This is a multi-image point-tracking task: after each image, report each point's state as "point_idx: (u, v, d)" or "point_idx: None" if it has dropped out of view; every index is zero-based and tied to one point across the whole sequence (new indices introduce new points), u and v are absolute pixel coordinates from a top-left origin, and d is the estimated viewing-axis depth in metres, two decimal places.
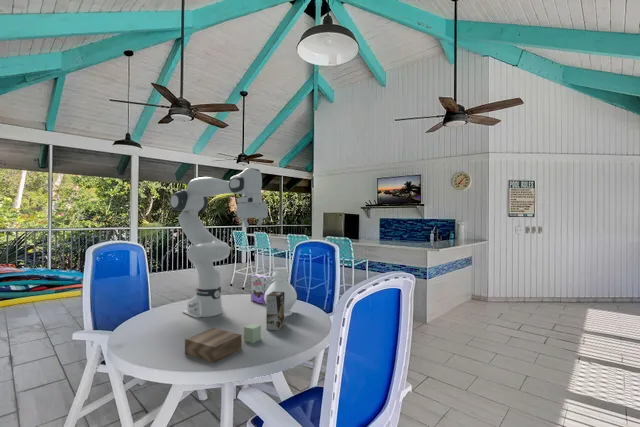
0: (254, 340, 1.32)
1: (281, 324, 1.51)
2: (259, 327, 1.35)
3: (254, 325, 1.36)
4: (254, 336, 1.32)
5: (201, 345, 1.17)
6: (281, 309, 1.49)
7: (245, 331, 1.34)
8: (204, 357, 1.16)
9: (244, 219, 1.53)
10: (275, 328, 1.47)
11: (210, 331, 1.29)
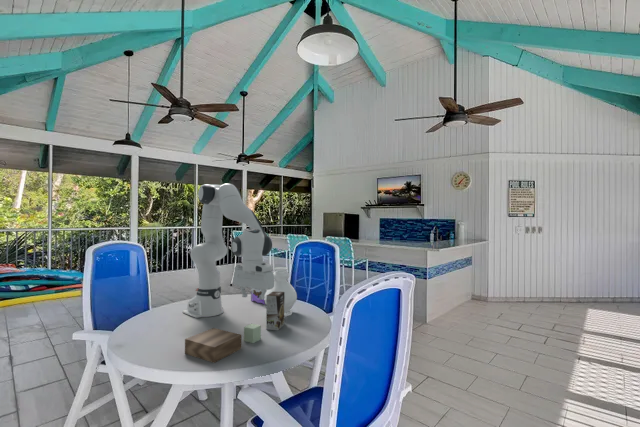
0: (254, 340, 1.32)
1: (281, 323, 1.51)
2: (259, 327, 1.35)
3: (254, 325, 1.36)
4: (254, 336, 1.32)
5: (201, 345, 1.17)
6: (281, 309, 1.49)
7: (245, 331, 1.34)
8: (204, 357, 1.16)
9: (265, 290, 1.32)
10: (275, 328, 1.47)
11: (211, 331, 1.29)
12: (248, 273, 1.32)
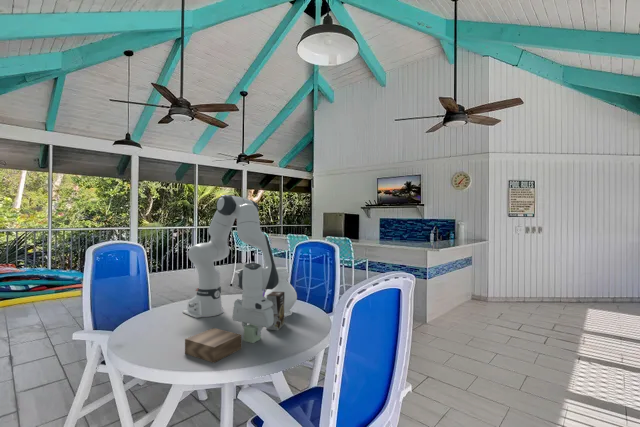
0: (254, 340, 1.32)
1: (281, 323, 1.51)
2: None
3: None
4: (254, 336, 1.32)
5: (201, 345, 1.17)
6: (281, 309, 1.49)
7: (245, 331, 1.34)
8: (203, 357, 1.16)
9: (262, 326, 1.33)
10: (275, 328, 1.47)
11: (211, 331, 1.29)
12: (248, 309, 1.32)
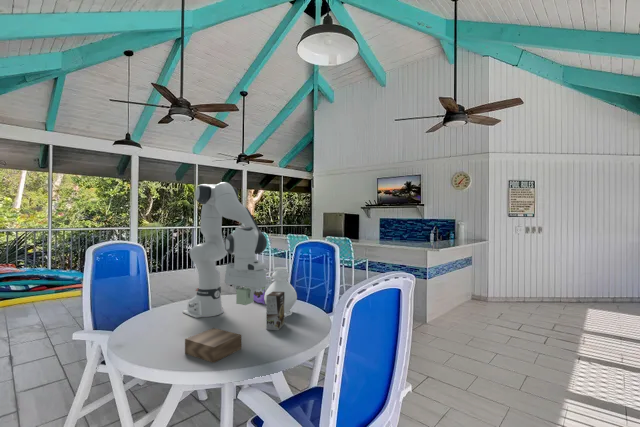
0: (247, 302, 1.30)
1: (281, 324, 1.51)
2: None
3: (246, 288, 1.34)
4: (246, 298, 1.30)
5: (201, 344, 1.17)
6: (281, 309, 1.49)
7: (237, 293, 1.31)
8: (203, 357, 1.16)
9: (254, 288, 1.31)
10: (275, 328, 1.47)
11: (211, 331, 1.29)
12: (240, 271, 1.30)
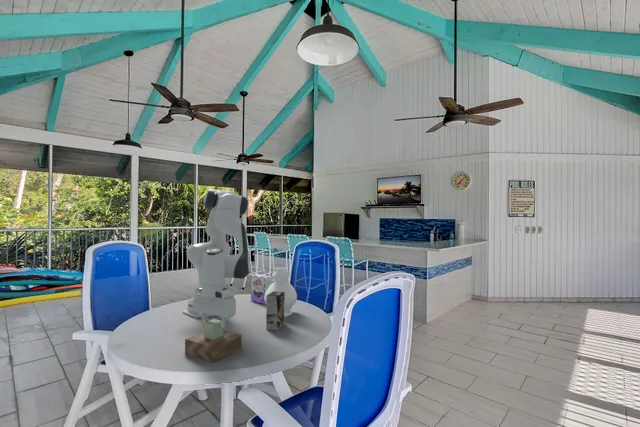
0: (215, 337, 1.21)
1: (281, 323, 1.51)
2: None
3: (215, 320, 1.25)
4: (214, 332, 1.21)
5: (201, 345, 1.17)
6: (281, 309, 1.49)
7: (205, 327, 1.23)
8: (203, 357, 1.16)
9: (226, 317, 1.21)
10: (275, 328, 1.47)
11: None
12: (208, 299, 1.21)
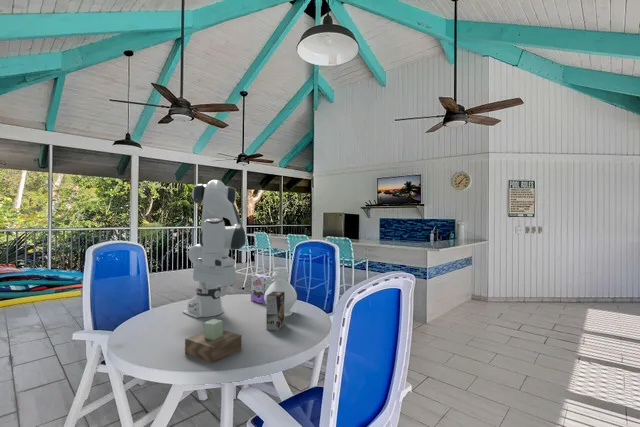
0: (215, 337, 1.21)
1: (281, 323, 1.51)
2: (221, 322, 1.24)
3: (215, 320, 1.25)
4: (214, 332, 1.21)
5: (201, 345, 1.17)
6: (281, 309, 1.49)
7: (205, 327, 1.22)
8: (203, 357, 1.16)
9: (226, 286, 1.21)
10: (275, 328, 1.47)
11: None
12: (207, 267, 1.21)
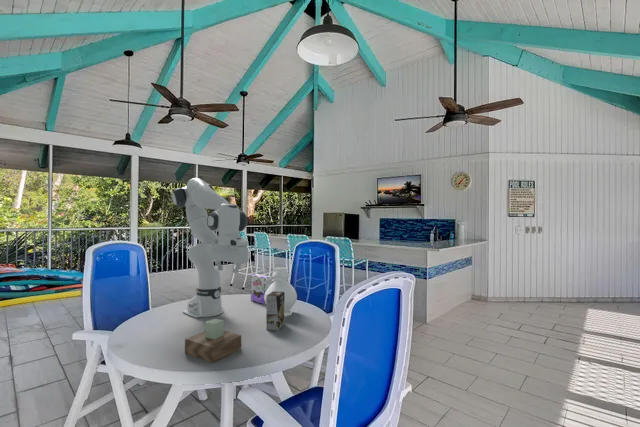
0: (216, 336, 1.22)
1: (281, 323, 1.51)
2: (222, 322, 1.25)
3: (216, 320, 1.26)
4: (215, 332, 1.21)
5: (201, 345, 1.17)
6: (281, 309, 1.49)
7: (206, 327, 1.23)
8: (203, 358, 1.16)
9: (239, 264, 1.35)
10: (275, 328, 1.47)
11: None
12: (223, 247, 1.35)
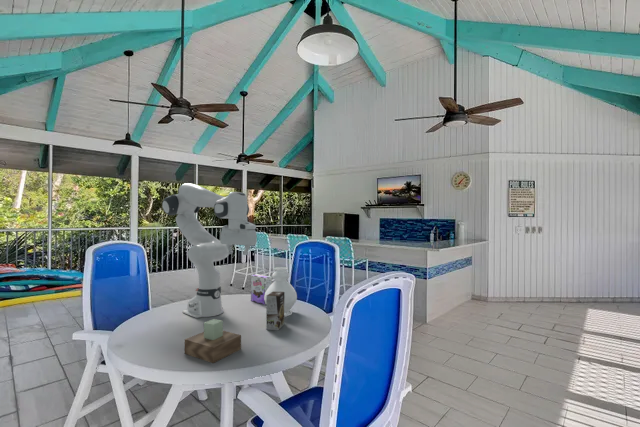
0: (215, 337, 1.21)
1: (281, 323, 1.51)
2: (221, 323, 1.24)
3: (215, 320, 1.25)
4: (214, 332, 1.21)
5: (200, 345, 1.17)
6: (281, 309, 1.49)
7: (205, 327, 1.22)
8: (203, 358, 1.16)
9: (248, 246, 1.47)
10: (275, 328, 1.47)
11: None
12: (233, 231, 1.47)
